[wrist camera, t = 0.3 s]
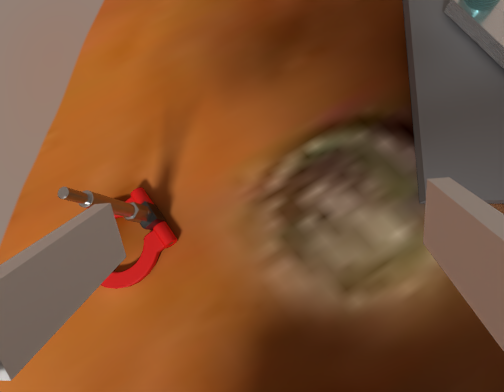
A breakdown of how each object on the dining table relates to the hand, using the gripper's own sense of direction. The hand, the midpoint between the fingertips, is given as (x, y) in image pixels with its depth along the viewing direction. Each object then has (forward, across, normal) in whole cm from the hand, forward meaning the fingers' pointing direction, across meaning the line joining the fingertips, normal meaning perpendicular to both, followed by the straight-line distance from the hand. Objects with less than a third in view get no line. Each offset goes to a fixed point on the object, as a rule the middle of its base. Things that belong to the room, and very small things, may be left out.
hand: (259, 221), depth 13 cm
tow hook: (+15, +16, +8) cm, 23 cm away
